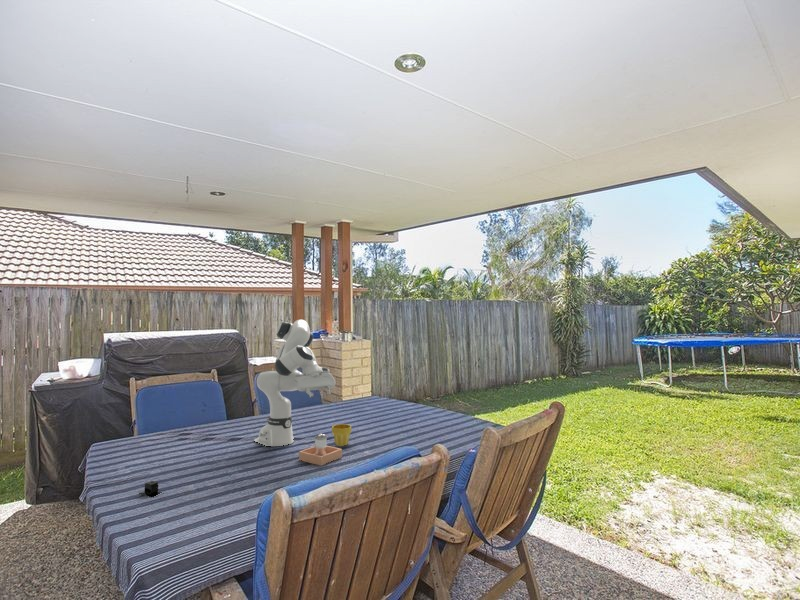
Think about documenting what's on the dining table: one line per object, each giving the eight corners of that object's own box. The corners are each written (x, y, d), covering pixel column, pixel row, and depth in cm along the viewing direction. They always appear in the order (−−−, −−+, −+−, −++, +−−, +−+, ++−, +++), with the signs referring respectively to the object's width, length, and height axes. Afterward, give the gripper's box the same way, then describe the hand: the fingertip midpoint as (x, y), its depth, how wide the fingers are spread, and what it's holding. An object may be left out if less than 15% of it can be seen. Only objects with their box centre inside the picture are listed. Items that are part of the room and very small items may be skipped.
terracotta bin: (298, 459, 212) (299, 451, 212) (320, 452, 224) (320, 444, 224) (321, 465, 204) (321, 456, 204) (342, 457, 216) (342, 449, 216)
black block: (170, 494, 172) (170, 482, 173) (152, 501, 166) (152, 488, 166) (149, 488, 178) (149, 477, 178) (131, 495, 171) (132, 483, 172)
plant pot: (333, 448, 231) (333, 429, 231) (330, 442, 241) (330, 424, 241) (352, 446, 234) (352, 427, 234) (349, 441, 243) (349, 423, 244)
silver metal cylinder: (312, 457, 213) (312, 434, 213) (320, 453, 218) (320, 431, 218) (320, 459, 210) (321, 436, 210) (329, 456, 215) (329, 433, 215)
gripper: (295, 371, 221) (303, 393, 213) (331, 368, 233) (340, 389, 225) (291, 379, 224) (299, 401, 216) (327, 376, 237) (336, 397, 228)
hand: (320, 395), depth 221 cm, fingers open, 8 cm apart
